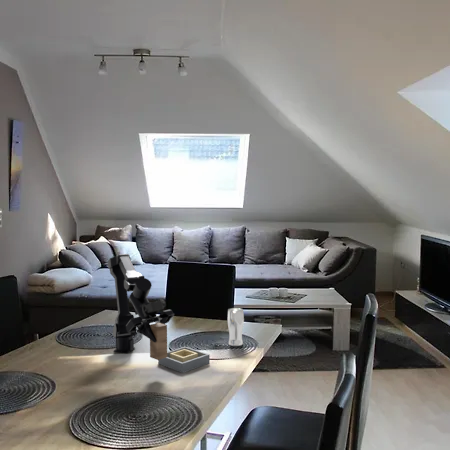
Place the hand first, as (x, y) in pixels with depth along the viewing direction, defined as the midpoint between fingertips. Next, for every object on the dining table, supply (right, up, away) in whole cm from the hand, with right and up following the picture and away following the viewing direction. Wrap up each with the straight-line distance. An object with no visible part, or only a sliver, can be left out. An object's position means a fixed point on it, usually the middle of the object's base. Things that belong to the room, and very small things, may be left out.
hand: (160, 340), depth 197 cm
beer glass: (+28, -10, +39) cm, 49 cm away
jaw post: (-1, -6, +2) cm, 7 cm away
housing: (+7, -12, +15) cm, 20 cm away
